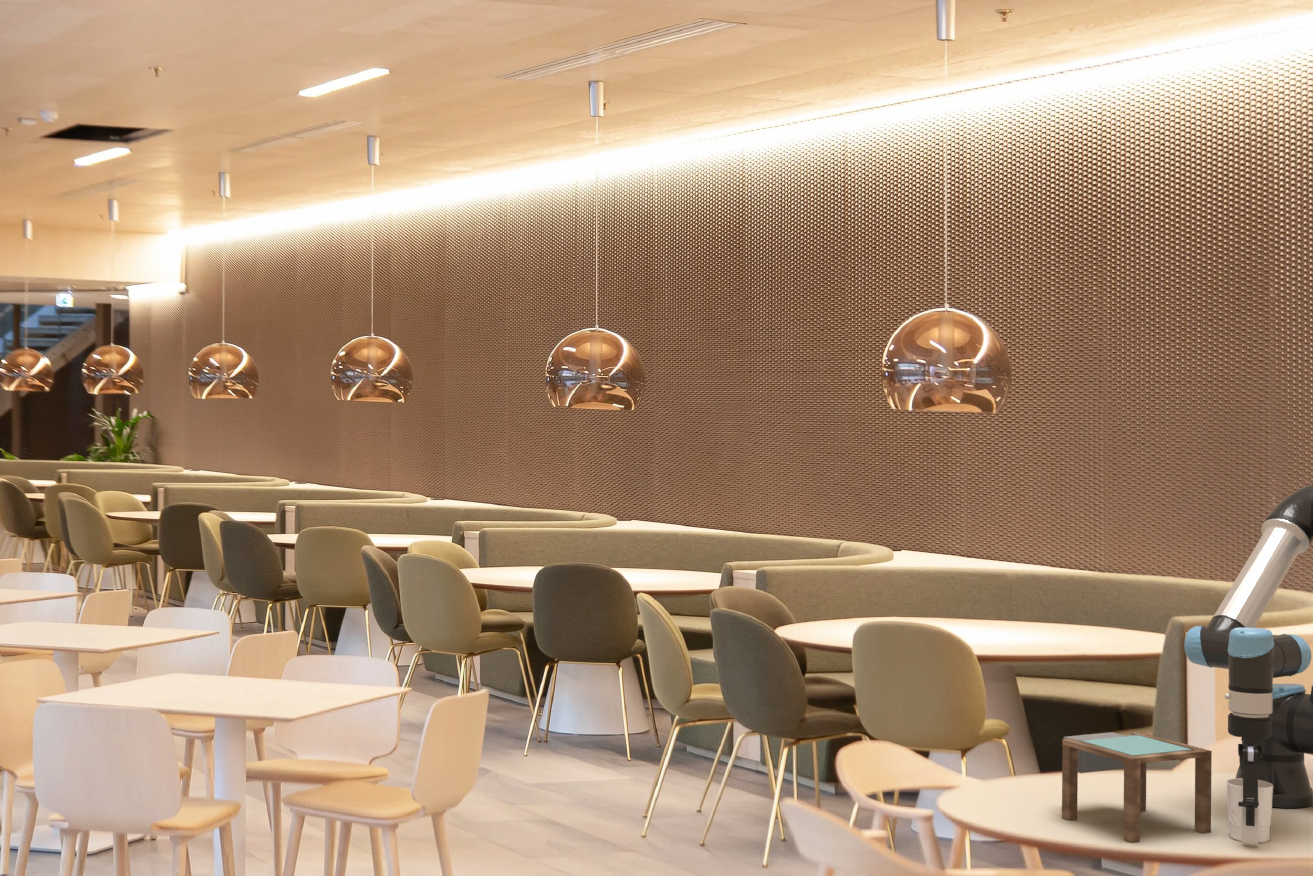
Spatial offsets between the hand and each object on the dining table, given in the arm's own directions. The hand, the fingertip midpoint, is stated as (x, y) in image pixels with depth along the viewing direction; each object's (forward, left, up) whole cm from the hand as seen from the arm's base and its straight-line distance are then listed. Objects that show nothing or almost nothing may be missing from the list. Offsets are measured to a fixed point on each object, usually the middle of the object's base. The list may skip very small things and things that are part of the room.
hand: (1249, 835), depth 267 cm
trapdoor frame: (+13, -15, 0) cm, 20 cm away
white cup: (0, 0, -1) cm, 1 cm away
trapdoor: (+13, -18, +8) cm, 24 cm away
